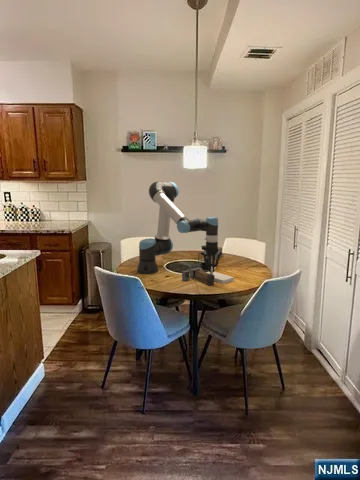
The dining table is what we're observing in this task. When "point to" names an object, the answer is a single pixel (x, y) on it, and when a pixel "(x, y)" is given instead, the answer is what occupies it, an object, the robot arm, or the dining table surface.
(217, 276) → the table-top board
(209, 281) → the bar
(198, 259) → the french press
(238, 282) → the dining table surface
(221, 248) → the tissue box
